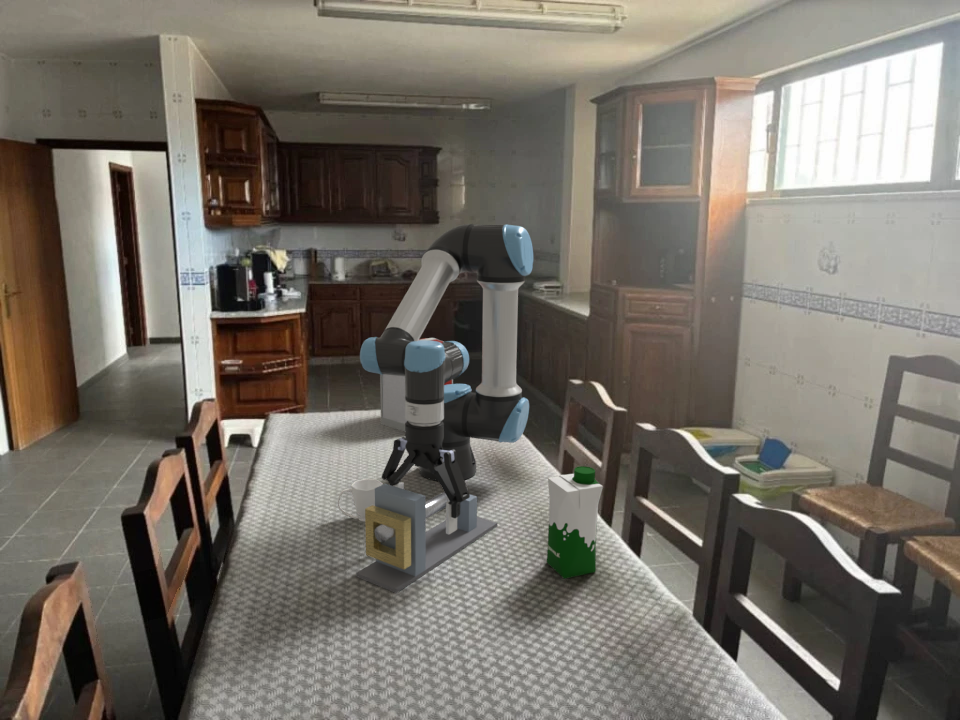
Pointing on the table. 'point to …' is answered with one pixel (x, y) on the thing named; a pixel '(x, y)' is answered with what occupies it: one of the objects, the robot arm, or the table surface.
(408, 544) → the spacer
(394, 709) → the table surface
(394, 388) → the red grey striped box
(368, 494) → the cup
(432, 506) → the shaft
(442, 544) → the rig
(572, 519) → the milk carton
